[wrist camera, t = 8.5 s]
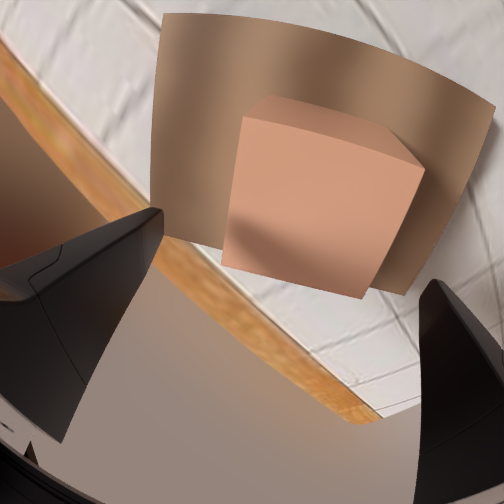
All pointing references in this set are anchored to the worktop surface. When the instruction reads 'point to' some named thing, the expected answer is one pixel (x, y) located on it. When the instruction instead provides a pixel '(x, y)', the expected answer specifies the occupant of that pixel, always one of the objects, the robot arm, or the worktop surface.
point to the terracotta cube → (316, 196)
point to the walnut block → (309, 91)
